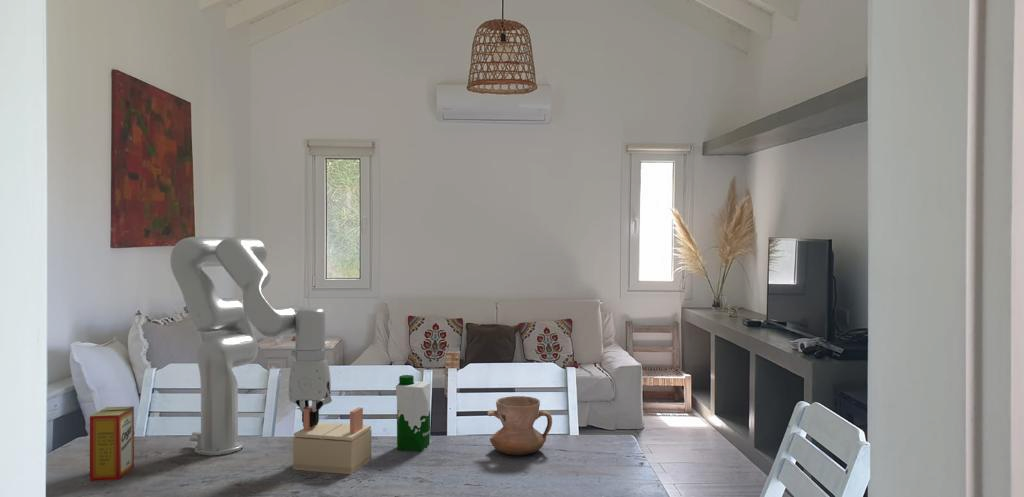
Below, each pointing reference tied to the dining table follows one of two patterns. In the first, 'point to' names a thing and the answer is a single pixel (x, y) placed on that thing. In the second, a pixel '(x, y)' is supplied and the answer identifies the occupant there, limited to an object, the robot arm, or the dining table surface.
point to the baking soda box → (111, 443)
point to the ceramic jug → (519, 425)
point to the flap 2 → (349, 427)
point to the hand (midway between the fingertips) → (310, 425)
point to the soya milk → (413, 413)
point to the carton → (331, 454)
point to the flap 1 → (316, 430)
